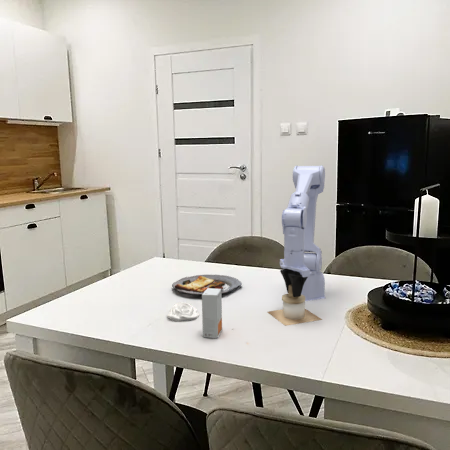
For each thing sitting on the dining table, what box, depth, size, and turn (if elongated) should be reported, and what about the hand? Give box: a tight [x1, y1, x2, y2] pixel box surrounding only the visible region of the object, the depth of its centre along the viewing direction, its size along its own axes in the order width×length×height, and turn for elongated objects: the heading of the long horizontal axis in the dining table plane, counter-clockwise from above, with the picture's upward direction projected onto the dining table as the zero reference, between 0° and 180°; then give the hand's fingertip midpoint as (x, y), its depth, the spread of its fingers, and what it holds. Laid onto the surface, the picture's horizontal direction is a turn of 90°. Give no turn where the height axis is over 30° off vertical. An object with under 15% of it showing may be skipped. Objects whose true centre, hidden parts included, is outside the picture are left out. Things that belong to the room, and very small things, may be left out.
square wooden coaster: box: [267, 308, 323, 327], centre depth 134 cm, size 12×12×1 cm
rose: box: [166, 302, 200, 322], centre depth 137 cm, size 10×4×10 cm
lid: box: [281, 284, 306, 304], centre depth 133 cm, size 7×7×4 cm
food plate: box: [171, 274, 243, 296], centre depth 164 cm, size 25×23×4 cm
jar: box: [282, 301, 306, 319], centre depth 134 cm, size 6×6×4 cm
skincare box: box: [201, 288, 223, 339], centre depth 123 cm, size 6×4×12 cm
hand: (293, 294), depth 133 cm, fingers closed on lid, 3 cm apart
